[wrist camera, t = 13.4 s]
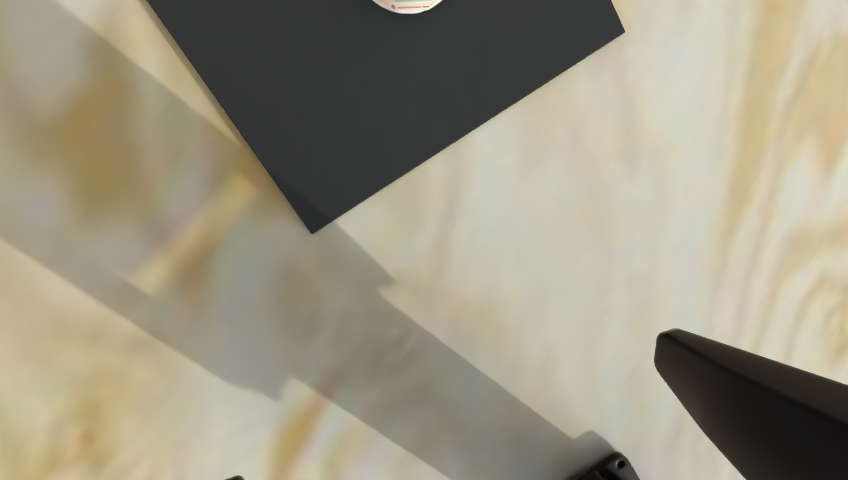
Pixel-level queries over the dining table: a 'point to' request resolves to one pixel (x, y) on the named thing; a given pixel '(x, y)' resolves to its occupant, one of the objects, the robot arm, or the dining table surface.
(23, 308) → the dining table surface
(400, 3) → the beer can
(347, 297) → the dining table surface
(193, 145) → the dining table surface
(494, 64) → the mat
